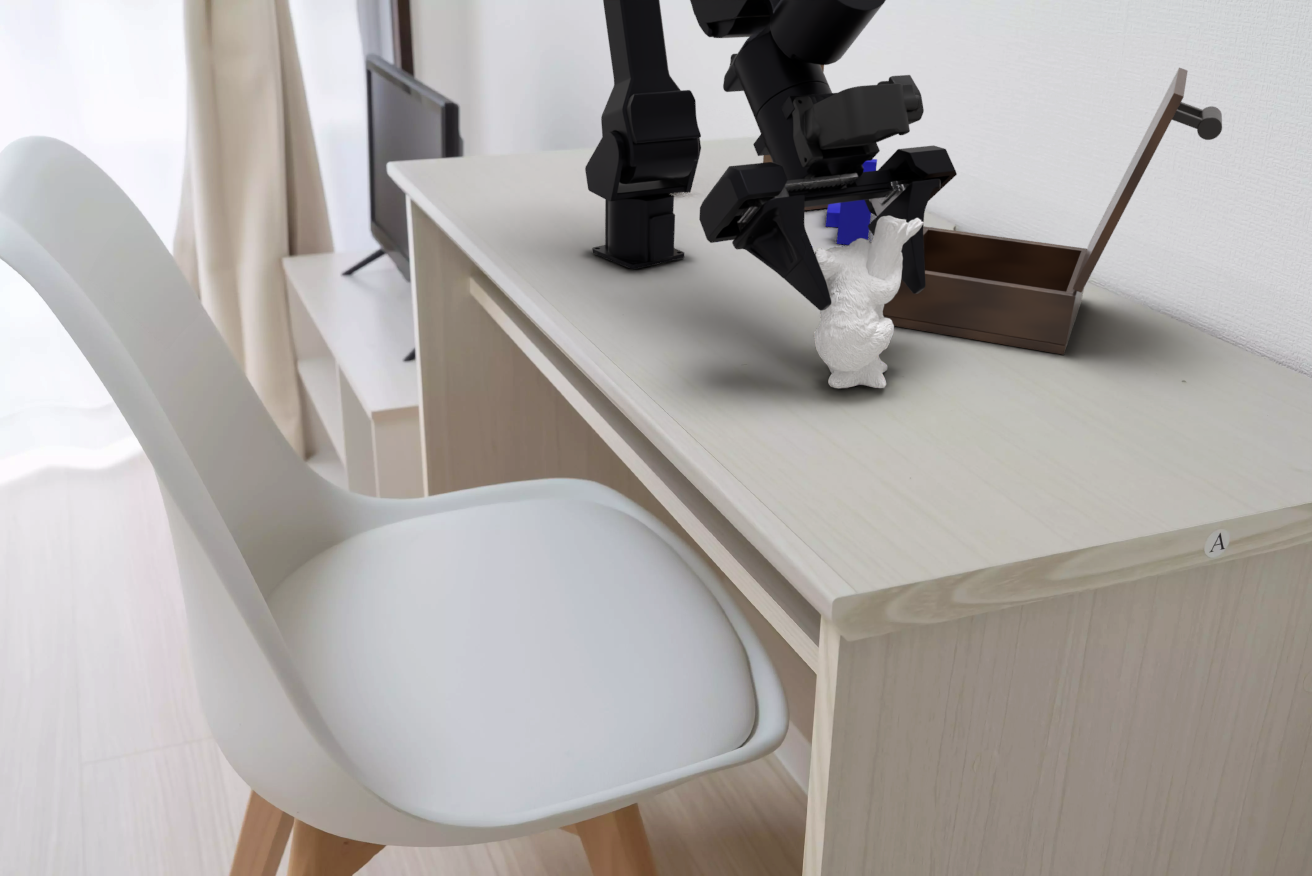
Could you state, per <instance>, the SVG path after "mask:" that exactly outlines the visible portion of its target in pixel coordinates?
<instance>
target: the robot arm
mask: <svg viewBox="0 0 1312 876" xmlns="http://www.w3.org/2000/svg"><path fill="white" fill-rule="evenodd" d="M886 1H887V0H689V2H690V4H691V8H692V11H693V14H694V16H695V19H696V21H697V24H698V26H699V28H700V29H701V31H702V33H704V35H705V36H707V37H708V38H713V39H733V38H734V39H735V38H746V40H745V41H744V42H743V44H742V46H741V48H740V49H739V50H738V52H737V53H732V54H731V55H730V61H729V62H730V63H729V67H728V68H727V71H726V73H725V74H724V77H723V84H722V88H723V91H724V92H726V93H732V92H734V93H736V92H743V93H744V95H745V97H746V100H747V103H748V105H749V108H750V110H751V113H752V115H753V117H754V120H755V122H756V125H757V128H758V130H759V132H760V134H759V135H758V137H757V139H756V140H755V141H754V142H753V147H754V150H755V153H756V155H757V157H761V156H764V155H770V157H771V160H772V162H766V163H763V162H759V163H757V162H756V163H747V164H738V165H729V166H728V167H727V168H726V170H725V171H724V172H723V174H722V175H721V176H720V177H719V179H718V180H717V182H716V183H715V185H714V186H713V187H712V189H711V190H710V191H709V192H708V194H707V196H705V198H704V199H703V200H702V202H701V204H700V207H699V217H698V218H699V222H700V225H701V228H702V230H703V233H704V236H705V238H706V240H707V241H708V242H709V243H710V244H712V243H721V242H727V241H731V243H732V246H733V247H734V249H736V250H745V251H747V252H748V253H750V254H751V255H752V256H753V257H755V258H756V259H757V260H759V261H760V262H762V263H763V264H764V265H765V266H767V267H768V268H769V269H770V270H772V271H774V273H776V274H777V275H778V276H780V277H781V278H782V279H783V280H785V281H786V282H787V283H788V284H789V285H790V286H791V287H792V288H794V289H795V290H796V291H797V292H798V293H799V294H801V295H802V296H803V297H804V298H805V299H806V300H807V301H809V303H810V304H812V305H813V306H814V307H815V308H816V309H817V310H818V311H820V310H826V309H827V308H828V307H829V306H830V305H831V297H830V294H829V290H828V287H827V283H826V280H825V278H824V275H823V273H822V270H821V268H820V265H819V263H818V260H817V258H816V255H815V251H814V248H813V246H812V243H811V240H810V238H809V236H808V233H807V230H806V225H805V210H804V208H805V207H811V206H819V205H827V204H835V203H843V202H851V201H859V200H865V203H866V205H867V207H868V210H869V212H871V215H873V216H875V218H874V219H873V220H872V221H870V224H869V225H868V228H869V232H870V233H871V234H872V236H873V237H874V234H875V228H876V225H877V221H878V220H879V219H880V217H883V216H892V217H894V218H898V219H903V220H906V222H907V223H909V222H910V221H911V220H914V219H916V218H919V219H920V220H921V222H924V224H925V212H926V208H927V206H928V204H929V201H930V200H932V198H933V197H935V196H936V195H937V194H938V193H939V192H940V191H941V190H942V189H943V188H944V187H945V186H946V185H947V184H949V182H951V181H952V180H953V179H954V178H955V177H956V176H957V175H958V173H957V170H956V169H955V166H954V164H953V161H952V160H951V157H950V155H949V153H948V151H947V148H945V147H941V146H938V145H924V146H914V147H905V148H897V149H896V151H895V152H894V153H893V154H892V155H890V157H888V158H887V160H886V161H885V162H884V163H883V164H882V165H881V166H880V167H879V168H878V169H876V171H868V172H863V171H864V168H863V166H862V165H863V164H864V162H865V161H870V160H872V159H875V158H876V156H877V155H878V154H879V153H880V151H881V149H880V147H879V145H878V143H879V142H881V141H884V140H886V139H889V138H891V137H894V136H904V135H907V134H909V133H910V131H911V128H910V125H911V124H914V123H916V122H919V121H920V120H922V117H923V115H924V111H925V109H924V103H923V98H922V93H921V91H920V89H919V87H918V86H917V84H916V82H915V81H914V79H913V78H912V76H911V74H904V75H902V74H901V75H892V76H889V77H888V80H881V81H879V82H877V84H869V85H868V84H867V85H858V86H852V87H848V88H845V89H843V90H841V91H838V92H833V91H832V88H831V87H830V85H829V82H828V80H827V77H826V75H825V73H824V72H823V70H822V68H821V66H820V65H824V66H828V65H829V66H830V65H832V64H834V63H836V62H838V61H839V60H841V59H842V58H843V57H844V55H846V53H847V51H848V50H849V49H850V48H851V46H852V45H853V43H854V42H855V41H856V40H857V39H858V37H859V36H860V35H861V34H862V32H863V31H864V29H865V28H866V27H867V26H868V24H869V23H870V22H871V20H872V19H873V18H874V17H875V15H876V14H877V13H878V12H879V10H880V9H881V8H882V6H883V5H884V4H885V2H886ZM602 2H603V3H602V4H603V11H604V17H605V24H606V32H607V40H608V46H609V53H610V61H611V62H610V63H611V68H612V76H613V87H612V89H611V92H610V94H609V97H608V99H607V101H606V105H605V107H604V109H603V112H602V114H601V116H600V117H601V118H600V120H601V121H600V122H601V123H600V124H601V135H602V136H601V139H600V141H599V142H598V144H597V146H596V147H595V149H594V151H593V153H592V154H591V156H590V158H589V160H588V162H586V165H585V167H584V168H585V169H584V171H585V179H586V185H587V190H588V191H589V192H590V193H592V194H594V195H596V196H598V197H600V198H602V199H604V200H605V201H604V202H605V203H604V204H605V205H604V206H605V210H604V211H605V212H604V213H605V214H604V215H605V217H604V244H602V245H599V246H594V247H592V248H591V253H592V254H594V255H596V256H598V257H600V258H602V259H606V260H608V261H611V262H613V263H616V264H618V265H620V266H624V268H628V269H631V270H637V269H641V268H646V267H647V268H648V267H651V266H654V265H659V264H663V263H667V262H672V261H675V260H680V259H684V258H685V254H686V253H685V251H683V250H680V249H677V248H675V232H676V230H675V229H676V214H675V213H674V211H675V210H674V209H675V207H674V206H675V195H673V194H678V193H684V194H687V193H691V192H692V188H693V183H694V180H695V177H696V172H697V168H698V164H699V160H700V156H701V151H702V145H701V137H702V134H701V131H700V128H699V125H698V119H697V103H696V98H695V96H694V94H693V92H692V90H691V89H685V90H684V89H683V90H681V89H680V87H679V85H677V83H676V82H675V80H674V79H673V78H672V76H671V74H670V70H669V64H668V56H667V49H666V48H667V47H666V41H665V33H664V24H663V18H662V17H663V16H662V9H661V2H660V0H602ZM924 224H923V225H922V227H921V228H920V230H919V231H918V232H917V233H916V234H915V235H913V236H912V237H910V238H909V240H907V242H905V243H904V244H903V246H902V250H901V252H902V256H903V260H902V275H901V279H902V280H903V282H904V283H905V284H906V285H907V287H908V288H909V289H910V290H911V292H912V293H913V294H917V293H920V292H921V291H922V290H923V289H924V288H925V286H926V281H925V260H924V241H923V240H924V239H923V226H924Z"/></svg>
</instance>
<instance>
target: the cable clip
mask: <svg viewBox="0 0 1312 876" xmlns="http://www.w3.org/2000/svg"><path fill="white" fill-rule="evenodd" d="M877 165H878V159H877V158H873V159H872V160H870V161H865V162H864V164H863V165H862V166H863V168H864V171H863V172H868V171H877ZM871 217H872V213H871V212H869V210H868V207H867V205H866V203H865V200H859V201H851V202H843V203H835V204H828V208H827V210H826V217H825V218H826V220H825V227H826V228H827V227H829V228H837V237H836V244H837V245H846V246H849V244H850V243H852V242H853V241H856V240H857V239H859V238H862V239H867V240H868V241H869V234H870V230H869V228H868V225H869V224H870V223H871V219H872V218H871Z"/></svg>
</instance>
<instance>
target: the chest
mask: <svg viewBox="0 0 1312 876" xmlns="http://www.w3.org/2000/svg"><path fill="white" fill-rule="evenodd" d="M923 239H924V240H923V241H924V260H925V281H926V286H925V288H924V289H923V290H922V291H921V292H920V293H917V294H913V293H912V292H911V290H910V289H909V288H908V287H907V285H906V284H905V283H904V282H903V280H902V279H901V283H900V288H899V290H898V292H897V293H896V294H895V296H894V297H893V299H892V300H891V301H889V302H888V303H886V304H884V308H883V316H884V318H889V319H890V320H892V323H893V325H894V327H899V328H902V329H903V328H904V329H910V330H916V331H921V332H928V333H933V334H940V335H945V336H951V337H956V338H963V339H969V340H973V341H974V340H975V341H981V342H986V343H992V344H997V345H1003V346H1010V347H1017V348H1022V349H1026V350H1027V349H1028V350H1033V351H1040V352H1045V353H1050V354H1051V353H1052V354H1056V355H1057V354H1058V355H1065V353H1066V350H1067V346H1068V343H1069V340H1070V338H1071V334H1072V331H1073V328H1074V325H1075V323H1076V319H1077V316H1078V313H1079V310H1080V307H1081V304H1082V300H1083V296H1084V295H1083V294H1084V291H1085V288H1084V289H1083V291H1082V292H1078V291H1076V290H1073V287H1074V284H1075V281H1076V278H1077V275H1078V273H1079V270H1080V267H1081V264H1082V262H1083V259H1084V256H1085V253H1086V250H1087V248H1085V247H1078V246H1070V245H1065V244H1064V245H1062V244H1056V243H1048V242H1041V241H1033V240H1027V239H1020V238H1011V237H1006V236H1005V237H1004V236H997V235H990V234H982V233H976V232H968V231H961V230H953V229H945V228H938V227H931V226H923Z"/></svg>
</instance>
